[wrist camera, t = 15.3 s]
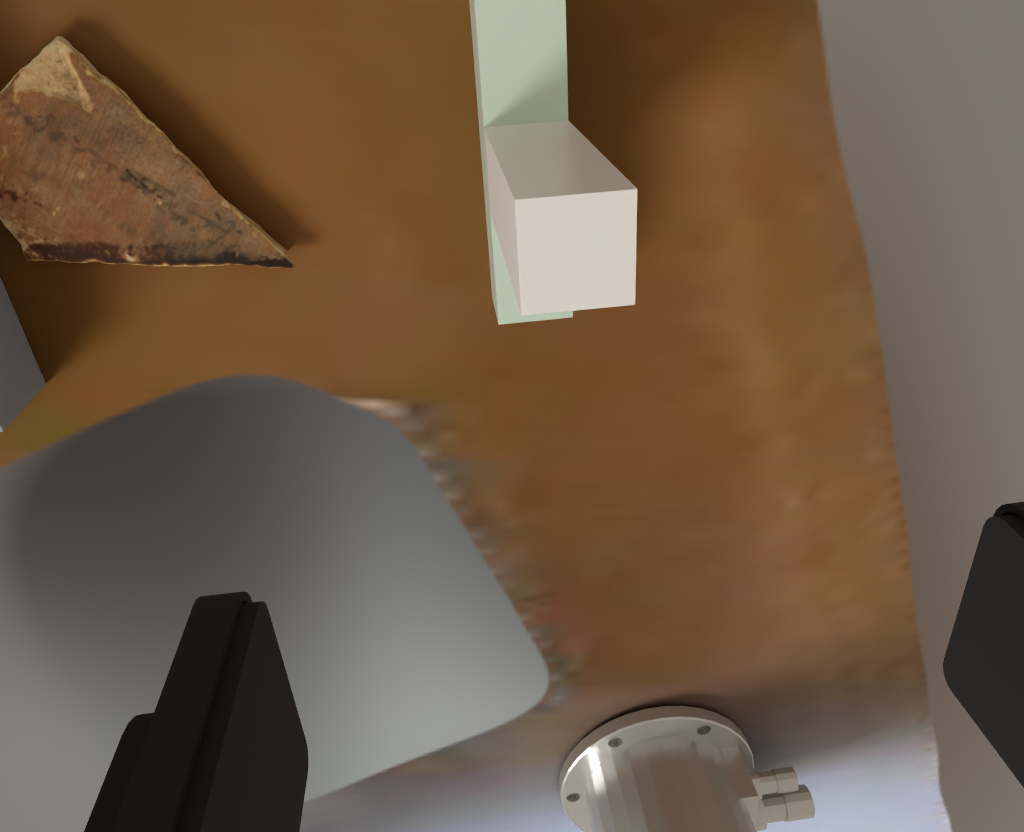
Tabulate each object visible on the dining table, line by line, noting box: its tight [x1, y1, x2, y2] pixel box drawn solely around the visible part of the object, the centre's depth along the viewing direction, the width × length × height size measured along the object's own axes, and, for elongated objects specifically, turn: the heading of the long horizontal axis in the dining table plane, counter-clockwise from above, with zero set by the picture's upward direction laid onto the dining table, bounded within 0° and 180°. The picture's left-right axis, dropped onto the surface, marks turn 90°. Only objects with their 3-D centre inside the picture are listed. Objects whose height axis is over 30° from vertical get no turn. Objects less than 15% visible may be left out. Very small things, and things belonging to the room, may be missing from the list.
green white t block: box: [469, 0, 637, 324], centre depth 25 cm, size 12×3×13 cm, turn 3°
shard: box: [0, 36, 294, 268], centre depth 30 cm, size 11×8×2 cm
